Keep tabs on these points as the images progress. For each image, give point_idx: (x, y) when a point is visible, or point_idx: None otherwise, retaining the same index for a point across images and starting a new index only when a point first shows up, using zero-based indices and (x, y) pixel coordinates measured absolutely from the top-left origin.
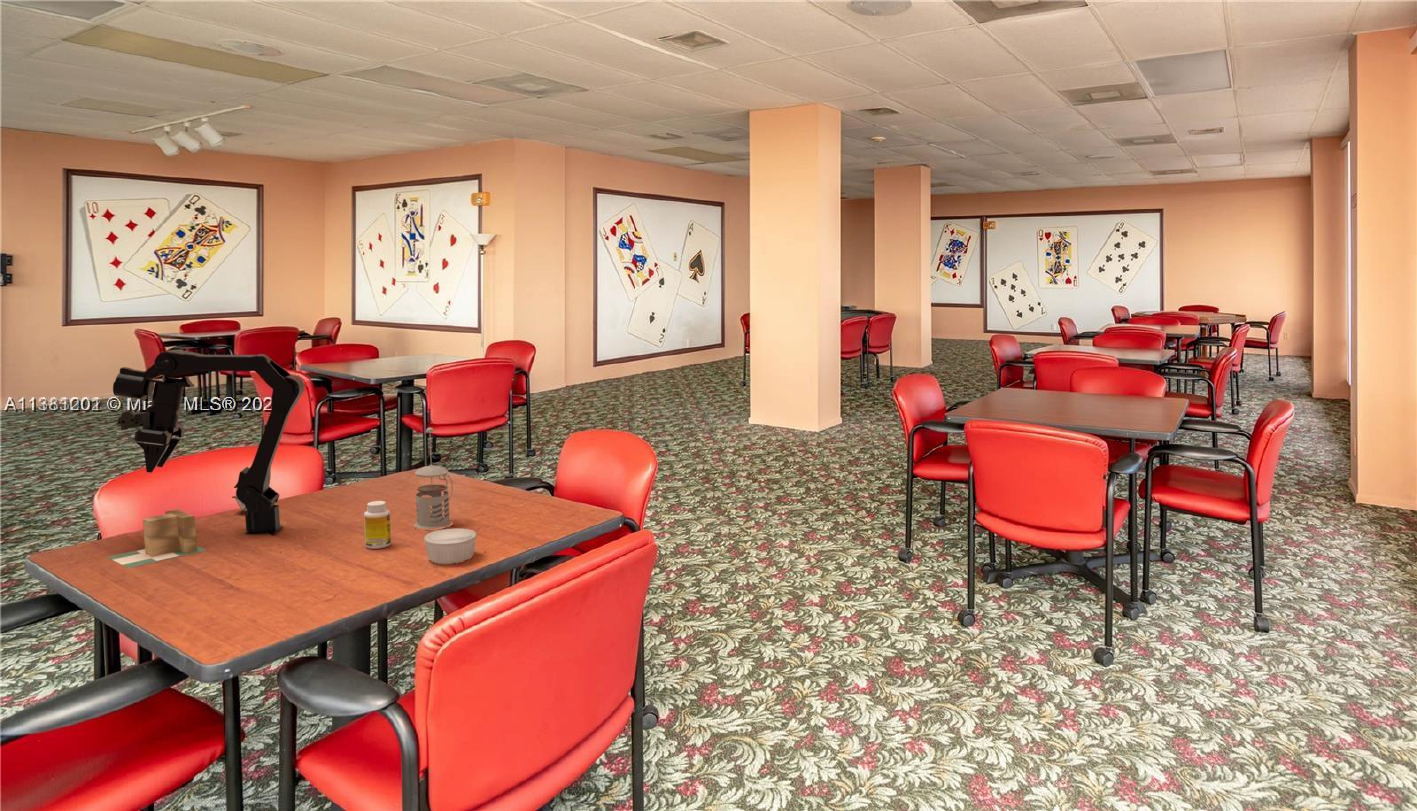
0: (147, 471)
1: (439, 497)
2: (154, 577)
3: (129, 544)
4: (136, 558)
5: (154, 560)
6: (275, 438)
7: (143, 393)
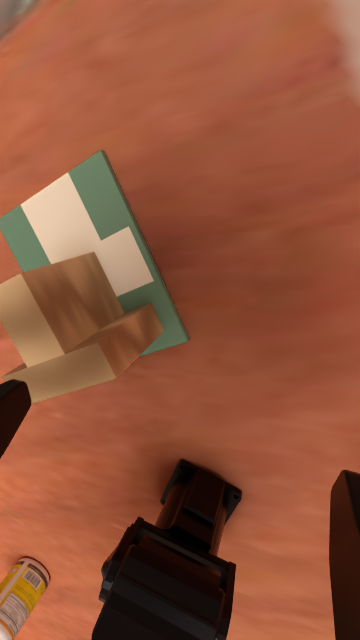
0: (13, 384)
1: None
2: None
3: (246, 193)
4: (61, 232)
5: None
6: None
7: None
